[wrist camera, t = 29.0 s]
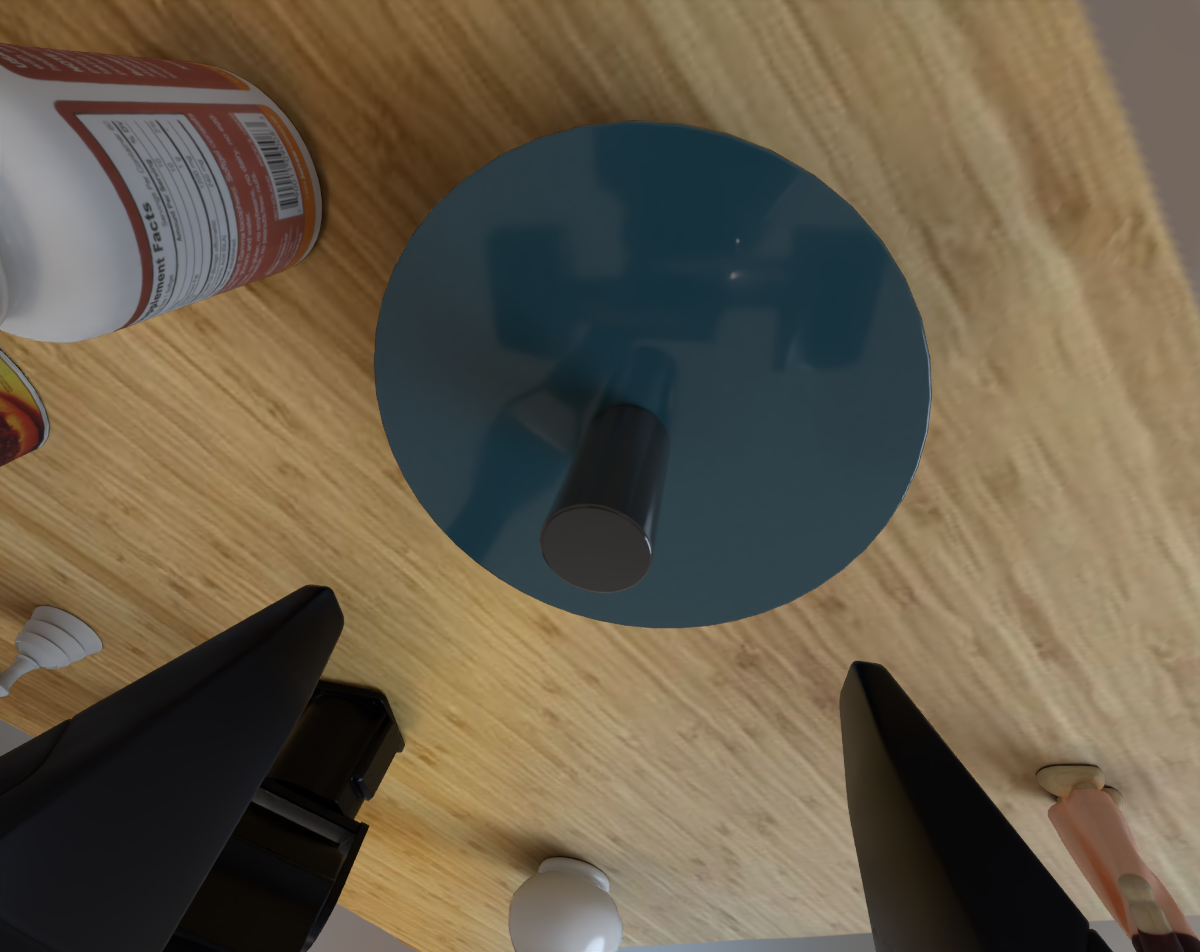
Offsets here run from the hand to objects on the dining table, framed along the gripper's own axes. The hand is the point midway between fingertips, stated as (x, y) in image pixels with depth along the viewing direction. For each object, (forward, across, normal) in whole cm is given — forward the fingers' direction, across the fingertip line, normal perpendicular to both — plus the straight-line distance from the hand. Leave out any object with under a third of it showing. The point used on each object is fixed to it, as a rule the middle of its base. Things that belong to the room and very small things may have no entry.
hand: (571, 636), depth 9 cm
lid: (+7, 0, 0) cm, 7 cm away
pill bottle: (+13, +14, -6) cm, 20 cm away
